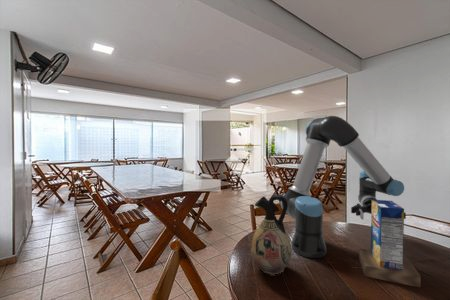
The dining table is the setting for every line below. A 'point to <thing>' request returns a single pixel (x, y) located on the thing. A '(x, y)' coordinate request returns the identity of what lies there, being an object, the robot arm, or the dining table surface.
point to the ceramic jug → (271, 238)
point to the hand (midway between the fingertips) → (381, 218)
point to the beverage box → (387, 234)
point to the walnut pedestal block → (389, 270)
